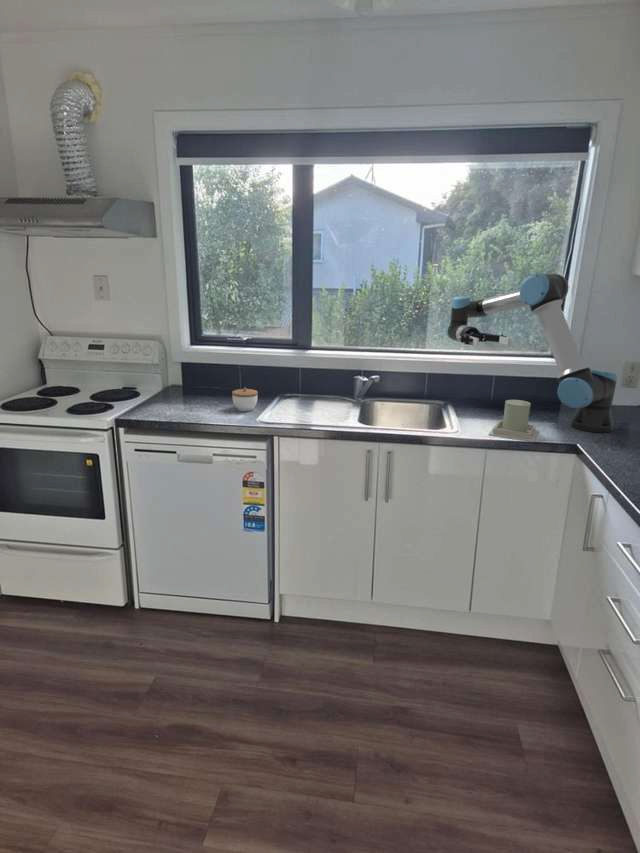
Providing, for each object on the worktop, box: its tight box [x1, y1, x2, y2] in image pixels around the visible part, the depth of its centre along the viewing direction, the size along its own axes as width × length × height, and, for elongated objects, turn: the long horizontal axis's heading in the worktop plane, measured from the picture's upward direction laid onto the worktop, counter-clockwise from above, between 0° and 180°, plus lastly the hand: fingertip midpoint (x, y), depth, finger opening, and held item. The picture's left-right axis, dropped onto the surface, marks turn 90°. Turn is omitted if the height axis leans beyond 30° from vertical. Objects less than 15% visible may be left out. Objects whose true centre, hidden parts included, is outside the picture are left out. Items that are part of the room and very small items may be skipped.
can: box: [502, 399, 532, 433], centre depth 204 cm, size 9×9×12 cm
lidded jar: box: [231, 387, 259, 412], centre depth 228 cm, size 11×11×9 cm
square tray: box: [488, 419, 540, 443], centre depth 206 cm, size 16×16×2 cm
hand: (493, 341), depth 215 cm, fingers open, 13 cm apart
